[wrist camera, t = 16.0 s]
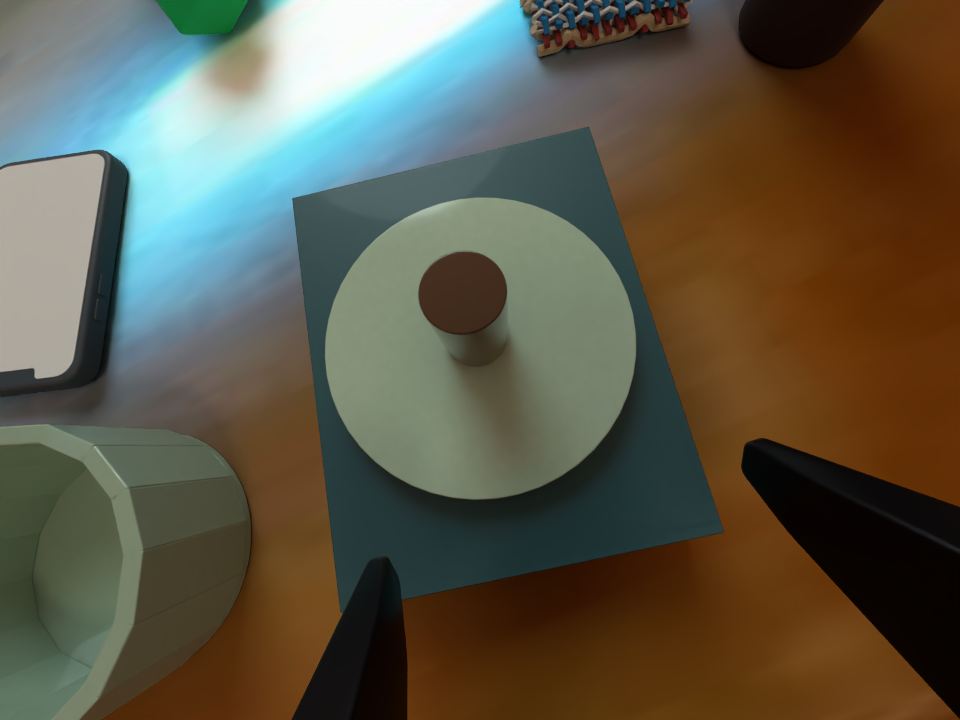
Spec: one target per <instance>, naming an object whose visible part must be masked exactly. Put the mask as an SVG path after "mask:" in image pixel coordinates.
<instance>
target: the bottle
mask: <svg viewBox="0 0 960 720" xmlns="http://www.w3.org/2000/svg"><path fill="white" fill-rule="evenodd" d="M883 1H884V0H746V1H745V3H744V5H743V7H742V9H741V11H740V15H739V30H740V33H741V36H742V38H743V41H744V43H745V44H746V45H747V46H748V47H749V48H750V50H751V51H752V52H753V53H754V54H756V55H757V56H759V57H760V58H762V59H764V60H765V61H767V62H770V63H774V64H777V65H780V66H786V67H804V66H810V65H815V64H819V63H821V62H823V61H826V60H828V59H830V58H832V57H834V56H835V55H836V54H837V53H838V52H839V51H840V50H841V49H842V48H843V47H844V46H846V45H847V44H848V42H849V41H850V40H851V39H852V38H853V37H854V35H855V34H856V33H857V32H858V31H859V29H860V28H861V27H862V26H863V25H864V23H865V22H866V21H867V20H868V19H869V17H870V16H871V15H872V14H873V13H874V11H875V10H876V9H877V8H878V7H879V5H880V4H881V3H882V2H883Z"/></svg>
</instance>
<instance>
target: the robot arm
mask: <svg viewBox="0 0 960 720" xmlns="http://www.w3.org/2000/svg"><path fill="white" fill-rule="evenodd" d="M741 468H742V471H743V474H744V475H745V477H746V478H747V480H748V481H749V482H750V483H751V485H752V486H753V487H754V489H755V490H756V491H757V493H758V494H759V495H760V497H761V498H762V499H763V500H764V502H765V503H766V504H767V506H768V507H769V508H770V510H771V511H772V512H773V513H774V515H775V516H776V517H777V519H778V520H779V521H780V523H781V524H782V525H783V526H784V527H785V529H786V530H787V531H788V532H789V533H790V535H791V536H792V537H793V538H794V539H795V540H796V541H797V543H798V544H799V545H800V546H801V547H802V548H803V549H804V550H805V551H806V552H807V553H808V554H809V556H810V557H811V558H812V559H813V560H814V561H815V562H816V563H817V564H818V565H819V566H820V568H821V569H822V570H823V571H824V572H825V573H826V574H827V575H828V576H829V577H830V578H831V580H832V581H833V582H834V583H835V584H836V585H837V586H838V587H839V588H840V589H841V590H842V591H843V593H844V594H845V595H846V596H847V597H848V598H849V599H850V600H851V601H852V602H853V603H854V605H855V606H856V607H857V608H858V609H859V610H860V611H861V612H862V613H863V614H864V615H865V617H866V618H867V619H868V620H869V621H870V622H871V623H872V624H873V625H874V626H875V627H876V628H877V630H878V631H879V632H880V633H881V634H882V635H883V636H884V637H885V638H886V639H887V640H888V642H889V643H890V644H891V645H892V646H893V647H894V648H895V649H896V650H897V651H898V652H899V654H900V655H901V656H902V657H903V658H904V659H905V660H906V661H907V662H908V663H909V664H910V665H911V667H912V668H913V669H914V670H915V671H916V672H917V673H918V674H919V675H920V676H921V677H922V679H923V680H924V681H925V682H926V683H927V684H928V685H929V686H930V687H931V688H932V689H933V691H934V692H935V693H936V694H937V695H938V696H939V697H940V698H941V699H942V700H943V701H944V702H945V704H946V705H947V706H948V707H949V708H950V709H951V710H952V711H953V712H954V713H955V714H956V716H957V717H958V718H959V719H960V507H958V506H955V505H953V504H950V503H947V502H944V501H941V500H938V499H936V498H933V497H930V496H927V495H924V494H921V493H919V492H916V491H913V490H910V489H907V488H904V487H902V486H899V485H896V484H893V483H890V482H887V481H885V480H882V479H879V478H876V477H873V476H870V475H868V474H865V473H862V472H859V471H856V470H853V469H851V468H848V467H845V466H842V465H839V464H836V463H834V462H831V461H828V460H825V459H822V458H819V457H817V456H814V455H811V454H808V453H805V452H802V451H800V450H797V449H794V448H791V447H788V446H785V445H783V444H780V443H777V442H774V441H771V440H768V439H765V438H759V439H756V440H753V441H749V442H747V443H746V444H745V446H744V451H743V457H742V464H741ZM292 720H407V649H406V638H405V628H404V618H403V608H402V597H401V587H400V581H399V577H398V575H397V573H396V571H395V569H394V567H393V565H392V563H391V561H390V559H389V558H388V556H386V555H383V556H380V557H377V558H373V559H371V560H370V561H369V562H368V563H367V565H366V567H365V569H364V571H363V573H362V575H361V577H360V579H359V581H358V583H357V585H356V587H355V590H354V592H353V594H352V596H351V598H350V600H349V602H348V604H347V606H346V608H345V610H344V612H343V614H342V616H341V619H340V621H339V623H338V625H337V627H336V629H335V631H334V633H333V635H332V637H331V639H330V641H329V643H328V645H327V648H326V650H325V652H324V654H323V656H322V658H321V660H320V662H319V664H318V666H317V668H316V670H315V672H314V674H313V677H312V679H311V681H310V683H309V685H308V687H307V689H306V691H305V693H304V695H303V697H302V699H301V701H300V703H299V706H298V708H297V710H296V712H295V714H294V716H293V718H292Z"/></svg>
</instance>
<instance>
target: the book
mask: <svg viewBox="0 0 960 720" xmlns="http://www.w3.org/2000/svg"><path fill="white" fill-rule="evenodd" d="M468 198H500V199H508V200H515V201H519V202H523V203H526V204H530V205H534V206H536V207H539V208H541V209H544V210H546V211H549V212H551V213H553V214H555V215H557V216H559V217H560V218H562V219H564V220H566V221H568V222H569V223H570V224H572V225H573V226H575V227H576V228H577V229H579V230H580V231H582V232H583V233H584V234H585V235H586V236H587V237H588V238H589V239H590V240H591V241H593V242H594V243H595V244H596V245H597V246H598V248H599V249H600V250H601V251H602V252H603V254H604V255H605V256H606V257H607V258H608V260H609V261H610V263H611V264H612V266H613V268H614V269H615V271H616V272H617V274H618V275H619V277H620V279H621V282H622V284H623V286H624V288H625V291H626V293H627V295H628V298H629V302H630V305H631V309H632V312H633V317H634V323H635V330H636V360H635V368H634V375H633V379H632V383H631V386H630V390H629V393H628V396H627V399H626V401H625V403H624V406H623V408H622V410H621V412H620V415H619V416H618V418H617V420H616V421H615V423H614V425H613V426H612V428H611V429H610V431H609V433H608V434H607V435H606V436H605V438H604V439H603V440H602V441H601V442H600V444H599V445H598V446H597V447H596V449H595V450H594V451H593V452H592V453H590V454H589V455H588V456H587V457H586V458H585V459H584V460H583V461H582V462H581V463H580V464H578V465H577V466H576V467H574V468H573V469H571V470H570V471H568V472H567V473H566V474H564V475H563V476H561V477H560V478H558V479H556V480H554V481H552V482H550V483H548V484H546V485H544V486H542V487H540V488H537V489H534V490H531V491H528V492H525V493H522V494H519V495H514V496H509V497H504V498H499V499H484V500H469V499H458V498H450V497H446V496H441V495H437V494H433V493H429V492H427V491H424V490H422V489H419V488H416V487H414V486H411V485H409V484H407V483H406V482H404V481H402V480H400V479H398V478H397V477H395V476H393V475H391V474H390V473H389V472H387V471H386V470H385V469H384V468H382V467H381V466H380V465H378V464H377V463H376V462H375V461H374V460H373V459H372V458H371V457H370V456H369V455H368V454H367V453H366V452H364V451H363V450H362V449H361V447H360V446H359V445H358V443H357V442H356V441H355V439H354V438H353V437H352V435H351V434H350V433H349V432H348V430H347V428H346V426H345V424H344V423H343V421H342V419H341V417H340V415H339V413H338V411H337V408H336V406H335V403H334V401H333V398H332V395H331V391H330V387H329V383H328V379H327V372H326V362H325V339H326V332H327V326H328V320H329V316H330V312H331V309H332V306H333V302H334V300H335V297H336V295H337V293H338V290H339V288H340V286H341V284H342V282H343V280H344V278H345V277H346V275H347V273H348V272H349V270H350V268H351V267H352V266H353V264H354V263H355V262H356V260H357V259H358V258H359V256H360V255H361V254H362V253H363V252H364V251H365V250H366V248H367V247H368V246H369V245H370V244H371V243H372V242H373V241H374V240H375V239H376V238H378V237H379V236H380V235H381V234H383V233H384V232H385V231H386V230H388V229H389V228H390V227H392V226H393V225H395V224H397V223H398V222H400V221H401V220H403V219H404V218H406V217H408V216H410V215H412V214H414V213H417V212H419V211H421V210H423V209H426V208H429V207H432V206H435V205H437V204H440V203H445V202H449V201H454V200H459V199H468ZM292 200H293V208H294V217H295V225H296V234H297V243H298V251H299V260H300V268H301V277H302V286H303V294H304V303H305V311H306V320H307V329H308V337H309V346H310V354H311V363H312V372H313V380H314V389H315V397H316V406H317V415H318V423H319V432H320V440H321V449H322V458H323V466H324V475H325V483H326V492H327V501H328V509H329V518H330V526H331V535H332V544H333V552H334V561H335V569H336V578H337V587H338V595H339V604H340V612H341V613H342V612H344V610H345V608H346V606H347V604H348V602H349V600H350V598H351V596H352V594H353V592H354V590H355V587H356V585H357V583H358V581H359V579H360V577H361V575H362V573H363V571H364V569H365V567H366V565H367V563H368V562H369V561H370V560H371V559H373V558H377V557H380V556H383V555H386V556H388V558H389V559H390V561H391V563H392V565H393V567H394V569H395V571H396V573H397V575H398V577H399V581H400V587H401V597H402V600H404V599H409V598H414V597H419V596H423V595H428V594H433V593H438V592H442V591H447V590H452V589H457V588H461V587H466V586H471V585H476V584H480V583H485V582H490V581H495V580H499V579H504V578H509V577H514V576H518V575H523V574H528V573H533V572H538V571H542V570H547V569H552V568H557V567H561V566H566V565H571V564H576V563H580V562H585V561H590V560H595V559H599V558H604V557H609V556H614V555H618V554H623V553H628V552H633V551H637V550H642V549H647V548H652V547H657V546H661V545H666V544H671V543H676V542H680V541H685V540H690V539H695V538H699V537H704V536H709V535H714V534H718V533H723V532H724V530H723V527H722V524H721V521H720V518H719V515H718V512H717V509H716V506H715V503H714V500H713V497H712V494H711V491H710V488H709V485H708V482H707V479H706V476H705V473H704V470H703V467H702V464H701V461H700V458H699V455H698V452H697V449H696V446H695V443H694V440H693V437H692V434H691V431H690V428H689V425H688V422H687V419H686V416H685V413H684V410H683V407H682V404H681V401H680V398H679V395H678V392H677V389H676V386H675V383H674V380H673V377H672V374H671V371H670V368H669V365H668V362H667V359H666V356H665V353H664V350H663V348H662V345H661V342H660V339H659V336H658V333H657V330H656V327H655V324H654V321H653V318H652V315H651V312H650V309H649V306H648V303H647V300H646V297H645V294H644V291H643V288H642V285H641V282H640V279H639V276H638V273H637V270H636V267H635V264H634V261H633V258H632V255H631V252H630V249H629V246H628V243H627V240H626V237H625V234H624V231H623V228H622V225H621V222H620V219H619V216H618V213H617V210H616V207H615V204H614V201H613V198H612V195H611V192H610V189H609V186H608V183H607V180H606V177H605V174H604V171H603V168H602V165H601V162H600V159H599V156H598V153H597V150H596V147H595V144H594V141H593V138H592V135H591V132H590V129H589V127H586V128H582V129H578V130H573V131H569V132H565V133H561V134H557V135H553V136H549V137H544V138H540V139H536V140H532V141H528V142H524V143H520V144H515V145H511V146H507V147H503V148H499V149H495V150H491V151H486V152H482V153H478V154H474V155H470V156H466V157H462V158H457V159H453V160H449V161H445V162H441V163H437V164H433V165H428V166H424V167H420V168H416V169H412V170H408V171H404V172H399V173H395V174H391V175H387V176H383V177H379V178H375V179H371V180H366V181H362V182H358V183H354V184H350V185H346V186H342V187H337V188H333V189H329V190H325V191H321V192H317V193H313V194H308V195H304V196H300V197H296V198H293V199H292Z"/></svg>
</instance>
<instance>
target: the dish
mask: <svg viewBox="0 0 960 720" xmlns="http://www.w3.org/2000/svg"><path fill="white" fill-rule="evenodd" d="M250 548H251V521H250V512H249V508H248V503H247V499H246V496H245V493H244V491H243V488H242V485H241V483H240V481H239V479H238V478H237V476H236V474H235V472H234V471H233V469H232V468H231V467H230V465H229V464H228V463H227V461H226V460H225V459H224V458H223V457H222V456H221V455H220V454H219V453H218V452H217V451H216V450H214V449H213V448H211V447H210V446H209V445H207V444H206V443H204V442H202V441H200V440H198V439H196V438H194V437H191V436H188V435H185V434H182V433H176V432H173V431H170V430H163V429H142V428H120V427H99V426H78V425H56V424H38V425H21V426H5V427H0V720H102V719H103V718H105V717H106V716H108V715H109V714H111V713H112V712H114V711H115V710H117V709H118V708H120V707H121V706H122V705H124V704H125V703H127V702H128V701H130V700H131V699H133V698H134V697H136V696H137V695H139V694H140V693H142V692H143V691H145V690H146V689H148V688H149V687H151V686H152V685H154V684H155V683H157V682H158V681H160V680H161V679H163V678H164V677H166V676H167V675H169V674H170V673H172V672H173V671H175V670H176V669H178V668H179V667H181V666H182V665H184V664H185V663H186V661H187V660H188V659H189V658H190V657H191V656H192V655H194V654H195V653H196V652H197V651H198V650H199V649H200V648H201V647H202V646H204V645H205V644H206V643H207V642H208V641H209V640H210V638H211V637H212V636H213V635H214V634H215V632H216V631H217V630H218V629H219V627H220V626H221V625H222V623H223V622H224V620H225V618H226V617H227V615H228V614H229V612H230V611H231V609H232V607H233V605H234V603H235V601H236V599H237V597H238V595H239V592H240V589H241V586H242V584H243V581H244V578H245V574H246V570H247V566H248V562H249V556H250Z"/></svg>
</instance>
